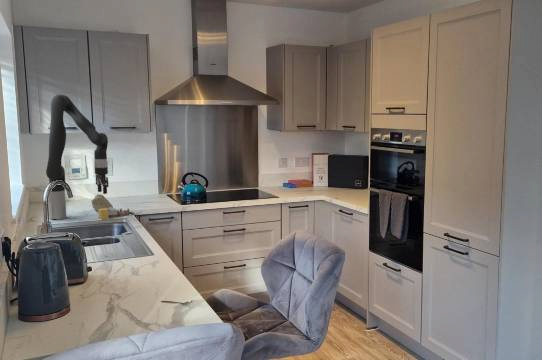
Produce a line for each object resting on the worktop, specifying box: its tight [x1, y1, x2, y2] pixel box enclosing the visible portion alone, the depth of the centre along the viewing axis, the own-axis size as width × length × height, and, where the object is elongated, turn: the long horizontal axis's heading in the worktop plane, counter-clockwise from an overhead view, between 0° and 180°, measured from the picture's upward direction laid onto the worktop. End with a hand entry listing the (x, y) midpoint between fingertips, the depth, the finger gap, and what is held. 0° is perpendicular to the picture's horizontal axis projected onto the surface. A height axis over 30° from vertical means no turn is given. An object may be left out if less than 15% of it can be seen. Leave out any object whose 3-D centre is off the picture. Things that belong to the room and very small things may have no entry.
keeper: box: [106, 207, 118, 215], centre depth 314 cm, size 4×10×3 cm, turn 39°
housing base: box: [109, 208, 134, 219], centre depth 317 cm, size 16×10×3 cm, turn 129°
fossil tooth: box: [90, 193, 114, 212], centre depth 328 cm, size 12×6×15 cm
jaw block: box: [97, 208, 110, 221], centre depth 306 cm, size 5×5×6 cm
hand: (102, 192), depth 304 cm, fingers open, 8 cm apart
